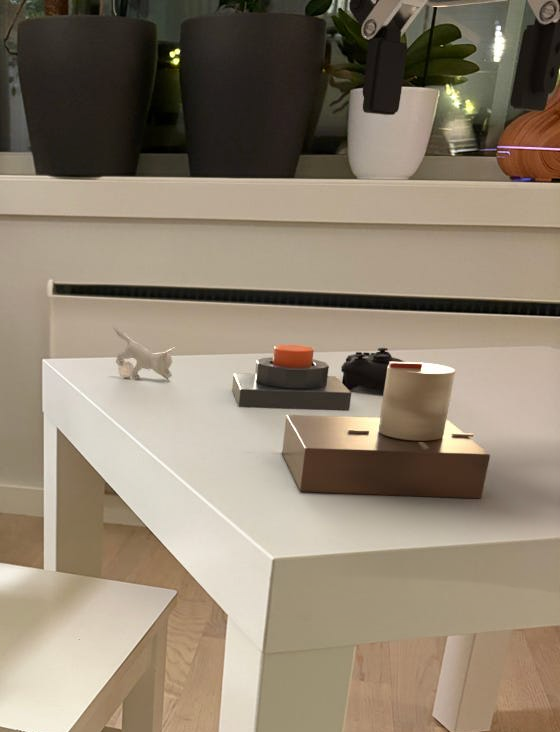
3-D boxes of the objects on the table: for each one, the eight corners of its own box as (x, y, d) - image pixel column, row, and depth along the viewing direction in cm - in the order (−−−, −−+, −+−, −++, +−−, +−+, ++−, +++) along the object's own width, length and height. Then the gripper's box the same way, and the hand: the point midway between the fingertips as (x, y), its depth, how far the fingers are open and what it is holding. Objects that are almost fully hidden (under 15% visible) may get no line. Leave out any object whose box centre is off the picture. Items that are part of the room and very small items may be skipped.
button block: (334, 393, 96) (338, 357, 94) (349, 411, 88) (354, 372, 87) (232, 390, 96) (235, 354, 95) (238, 407, 89) (242, 368, 87)
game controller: (420, 386, 93) (364, 340, 93) (383, 427, 96) (328, 382, 96) (422, 370, 101) (370, 327, 101) (388, 408, 104) (337, 366, 104)
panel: (445, 459, 74) (452, 417, 72) (486, 498, 65) (495, 452, 63) (281, 453, 74) (286, 412, 73) (299, 491, 65) (305, 445, 64)
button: (308, 364, 92) (310, 345, 92) (314, 371, 89) (316, 351, 88) (270, 363, 93) (272, 344, 92) (274, 369, 89) (276, 350, 89)
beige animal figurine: (145, 406, 99) (181, 365, 97) (88, 351, 99) (123, 309, 96) (153, 400, 102) (188, 360, 99) (98, 347, 102) (132, 305, 99)
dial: (433, 427, 70) (446, 358, 68) (450, 442, 66) (464, 370, 64) (372, 425, 70) (382, 356, 68) (385, 439, 66) (396, 367, 64)
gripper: (714, -279, 48) (622, 112, 56) (403, -198, 60) (361, 118, 67) (657, -331, 44) (565, 103, 51) (333, -232, 55) (296, 111, 62)
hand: (449, 111), depth 59 cm, fingers open, 9 cm apart
